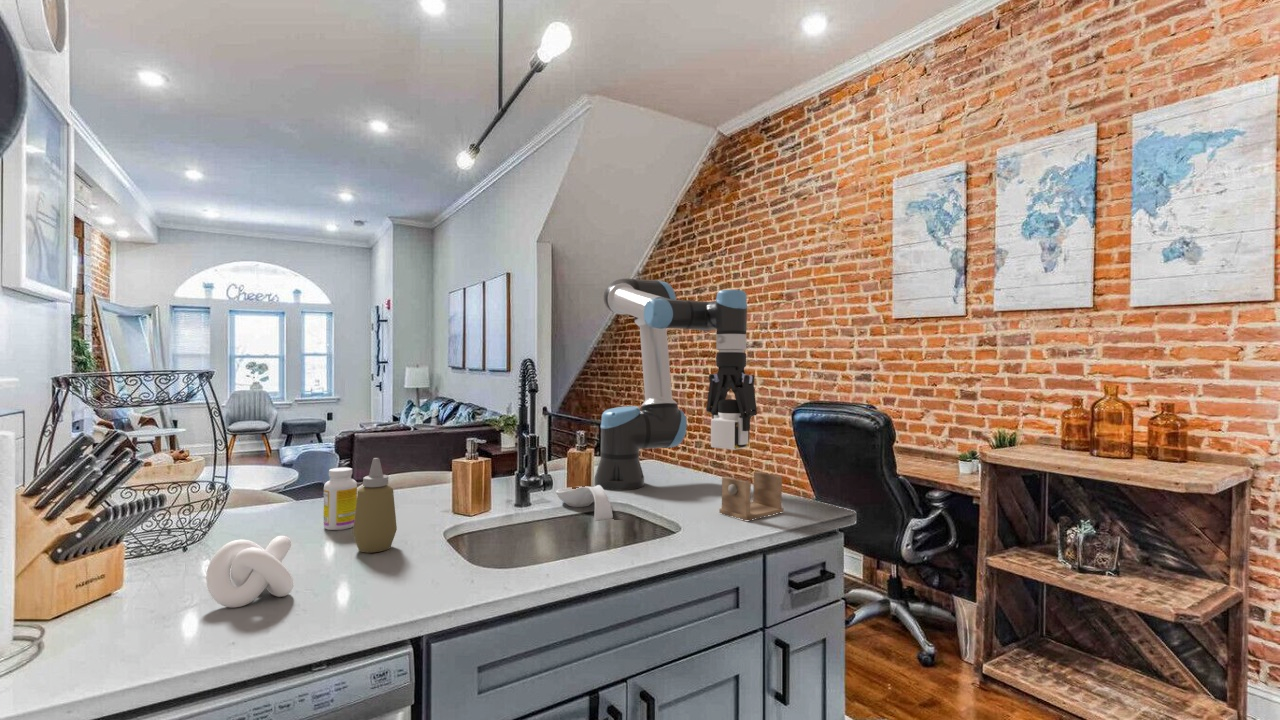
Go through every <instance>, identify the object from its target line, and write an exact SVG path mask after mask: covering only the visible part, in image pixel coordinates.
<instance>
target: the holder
mask: <svg viewBox="0 0 1280 720" xmlns="http://www.w3.org/2000/svg"><path fill="white" fill-rule="evenodd" d="M751 484H752V482H751V481H747V480H743V479H738V478H734V477H729V476H723V477H721V508H719V510H718V513H722V514H725V515H724V516H726V515H729V516H733V517H736V518H740V519H743V520H752V519H755V518H760V517H764V516H768V515H773V514H776V513H780V512H785V511H784V507H782V501H783V500H782V498H783V495H782V494H783V476H782V475H781V476H780V475H777V474H772V473H767V472H763V471H753V489H751V487H752V485H751ZM751 490H753V491H752V492H753V494H752V493H751ZM751 494H752V495H753V496H752V501H751ZM722 514H721V515H722ZM729 516H728V517H729ZM773 516H774V515H773ZM736 518H735V519H736ZM752 521H753V520H752Z"/></svg>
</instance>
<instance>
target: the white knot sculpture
mask: <svg viewBox="0 0 1280 720" xmlns="http://www.w3.org/2000/svg"><path fill="white" fill-rule="evenodd" d="M291 546H292V540H291V538H289V537H288V536H285V535H277V536H276V537H274V538H273V539H271V540H270V542H269V544H268V545H267V546H266V547H265V548H263V547H262V546H261V545H259V544H257V543H256V542H254V541H252V540H248V539H235V540H232V541H229V542H227V543H225V544H224V545H223V546H221V547H220V548H218V550H217V551H216V552H215V553H214V555H213V556H212V557H211V559H210V561H209V564H208V566H207V568H206V569H207V570H206V577H205V581H206V588H207V591H208V593H209V594H210V596H211V598H212V599H213V601H215V602H216V603H217V604H219V605H221V606H223V607H226V608H230V609H231V608H241V607H244V606H246V605H248V604H250V603H252V602H253V601H255V600H256V599H257V598H258V597H259V596H260V595H261V594H262V593H263V591H264V590H265V589H266V590H267V592H269V594H271V596H274V597H277V598H281V597H287V595H289V594H291V592H292V590H293V588H294V578H293V577H292V575H291V573H290V571H289V570H288V569H287V567H286V566H285V565H284V564H283V561H284V559H285V558H286V556H287V554H288V553H289V551H290V549H291Z"/></svg>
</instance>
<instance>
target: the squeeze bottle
mask: <svg viewBox="0 0 1280 720" xmlns="http://www.w3.org/2000/svg"><path fill="white" fill-rule="evenodd" d="M382 469H383V468H382V463H381V460H380V458H379V457H373V459H372V462H371V466H370V470H369V474H368V475H366V476H364V477H363V478H362V487H361V488H359V489H357V503H356V511H355V520H354V526H353V527H352V528H353V529H352V535H353V537H354V541H355V543H356V547H357V548H358V549H357V550H358V551H359V552H361V553H378V552H383V551H386V550H389V549H391V547H392V544H393V542H394V538H395V536H396V533H397V528H398V527H397V518H396V517H397V516H396V507H395V506H396V505H395V496H394V488H393V487H392V486H391V485H389V475H387V474H384V473H383V470H382Z"/></svg>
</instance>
